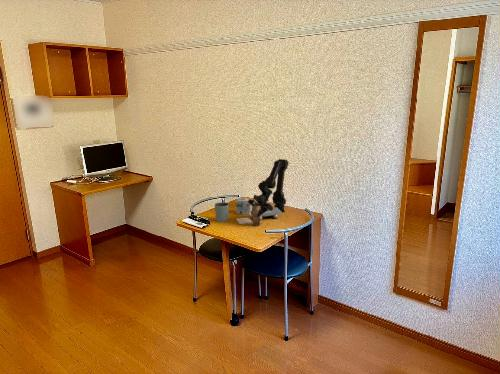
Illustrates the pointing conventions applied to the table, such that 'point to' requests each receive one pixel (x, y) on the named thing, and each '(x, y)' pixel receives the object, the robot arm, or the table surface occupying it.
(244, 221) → the pad
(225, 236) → the table surface
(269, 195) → the robot arm
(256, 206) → the walnut roller
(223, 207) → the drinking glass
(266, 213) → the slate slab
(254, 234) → the table surface
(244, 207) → the light bulb box
